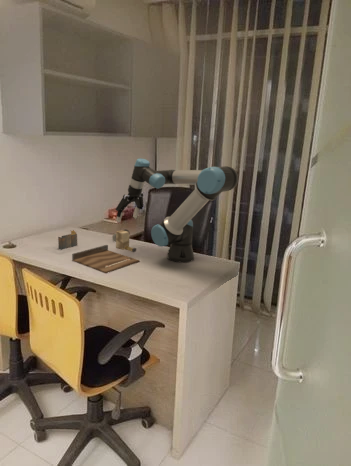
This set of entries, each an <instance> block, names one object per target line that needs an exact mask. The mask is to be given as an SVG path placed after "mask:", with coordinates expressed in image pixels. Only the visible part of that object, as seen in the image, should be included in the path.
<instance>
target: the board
mask: <svg viewBox="0 0 351 466" xmlns="http://www.w3.org/2000/svg"><path fill="white" fill-rule="evenodd" d="M71 259H72V262H74V263H77V264H80V265H83V266H85V267H88V268H91V269H93V270H95V271H99V272H101V273H104V274H108V272H109V273H111V272H113V271H114V272H115V271H117V270H119V269H123V268H125V267H128V266H131V265H135V264H137V263H140V262H141V261H140V259H136V258H133V257H131V256H129V255H124V254H121V253H118V252H115V251H111V250H109V245H108V244H105V245H104V244H103V245H101V246H96V247H94V248H90V249H85V250H81V251H78V252H74V253H72V254H71Z"/></svg>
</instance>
